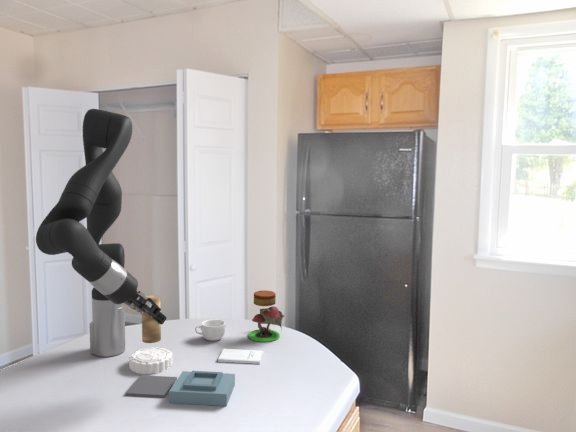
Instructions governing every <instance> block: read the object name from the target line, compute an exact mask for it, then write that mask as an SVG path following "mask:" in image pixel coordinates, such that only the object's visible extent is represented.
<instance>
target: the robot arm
mask: <svg viewBox="0 0 576 432" xmlns="http://www.w3.org/2000/svg"><path fill="white" fill-rule="evenodd" d="M132 134H133V123H132V119H131V118H130V117H129V116H127V115H125V114H120V113H116V112H112V111H108V110H103V109H97V108H90V109H88V110H87V111H86V113H85V114H84V117H83V121H82V144H83V152H84V161H85V165H84V166H82V167H81V168H79V169H77V170H76V171H75V172H74V173H73V174H72V175H71V176H70V178H69V180H68V181H67V183H66V185H65V187H64V188H63V191H62V193H61V194H60V198H59V200H58V202H57V203H56V204H55V205H54V207H52V209H51V210H50V211H49V213H47V215H46V216H45V218H44V219H43V220H42V222H41V223H40V225H39V227H38V228H37V231H36V236H35V243H36V247H37V248H38V250H39V251H40V252H42V253H43V254H45V255H50V256H55V255H59V254H65V253H68V254H70V256H72V259H71V266H72V268H73V270H74V271H75V272H76V273H77V274H79V275H80V276H81V277H83V279H85V280H86V281H87V282H89V283H90V285H91V286H92V289H91V316H92V318H91V319H92V321H91V322H90V323H89V353H90V355H94V356H97V357H100V358H101V357H103V358H104V357H105V358H108V357H113V356H118V355H120V354H123V353H124V352H126V314H125V312H126V308H125V305H126V306H127V307H129V308H130V309H131V310H134V311H136V312H137V313H141V315H142V313H146V314H148V315H149V316H150V317H152V318H153V319H154V320H156V321H157V322H158V323H159V324H161V326H162V325H164V323H165V322H166V320H167V316H165V315H164V314H163V313H162V308H161V309H160V308H159V307H158V306H157V305H156V303H155V302H154V301H153V300H152V299H151V298H147V297H145V296H146V295H145V293H143V292H142V291H140V290H138V286H139V282H138V280H137V278H135V277H134V276H133V274H131V273H130V272H129V271H127V270H126V268H125V262H126V261H125V257H126V255H125V249H124V246H123V244H122V243H119V242H118V243H116V242H115V243H113V242H112V243H101V240H102V238H103V236H104V234H105V233H107V231H108V230H109V229H110V228H111V227H112V225H113V224H114V223H115V221H117V219H118V218H119V216H120V214H121V211H122V202H123V201H122V199H123V191H122V187H121V185H120V183H119V181H118V179H117V177H116V176H115V174H114V173H113V170H114V169H115V167H116V165H118V163H119V161H120V160H121V158H122V156H123V155H124V153H125V151H126V150H127V148H128V147H129V144H130V143H131V142H130V141H131V139H132ZM103 149H105V150H104V151H103ZM85 219H86V226H85V225H84V224H82V223H81V221H83V220H85ZM142 308H144V309H143V310H142ZM160 311H161V312H160Z"/></svg>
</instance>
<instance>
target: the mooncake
mask: <svg viewBox="0 0 576 432" xmlns="http://www.w3.org/2000/svg"><path fill="white" fill-rule="evenodd" d="M173 356H174V354H173V352H172V351H170V349H167V348H164V347H156V346H153V347H146V348H141V349H139V350H136V351H135V352H134V353H131V354H130V356H129V357H128V363H129V365H128V366H129V370H131V372H133V373H135V374H140V375H151V374H158V373H162V371H163V372H165V371H167V370H169V368H171V367H172V366H173V363H174V360H173V358H174V357H173Z"/></svg>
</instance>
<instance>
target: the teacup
mask: <svg viewBox="0 0 576 432" xmlns="http://www.w3.org/2000/svg"><path fill="white" fill-rule="evenodd" d="M198 328H199V329H200V330H201V332H199V331H197V329H198ZM194 332H195V333H197V334H198V335H200V336H202V337H204V339H205V340H207V341H210V342H217V341H220V340H221V339H223V337H224V336H225V333H226V321H225V320H222V319H219V318H212V319H211V318H210V319H207V320H206V319H205V320H203V321H202V322H201V325H196V326H195V328H194Z"/></svg>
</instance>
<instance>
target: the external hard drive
mask: <svg viewBox="0 0 576 432" xmlns="http://www.w3.org/2000/svg"><path fill="white" fill-rule="evenodd" d="M264 353H265V352H264V350H255V349H254V350H253V349H252V350H250V349H239V348H238V349H237V348H235V349H234V348H223V349H222V351H221V353H220V354H219V356H218V358H217V362H218V363H225V362H235V363H234V364H245V363H252V364H251V365H260V364H261V362H262V359H263V356H264Z"/></svg>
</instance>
